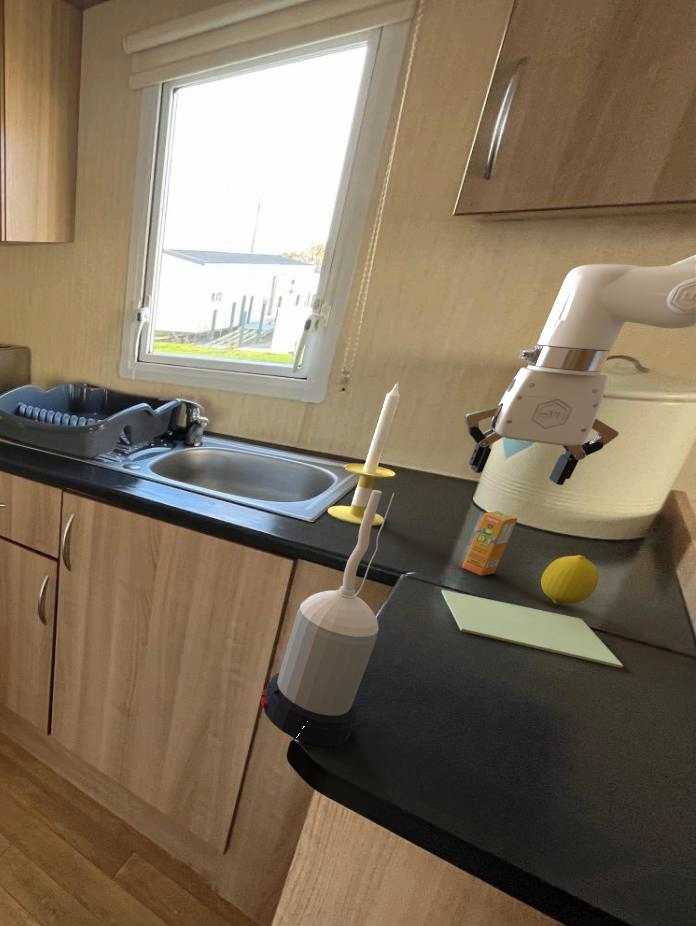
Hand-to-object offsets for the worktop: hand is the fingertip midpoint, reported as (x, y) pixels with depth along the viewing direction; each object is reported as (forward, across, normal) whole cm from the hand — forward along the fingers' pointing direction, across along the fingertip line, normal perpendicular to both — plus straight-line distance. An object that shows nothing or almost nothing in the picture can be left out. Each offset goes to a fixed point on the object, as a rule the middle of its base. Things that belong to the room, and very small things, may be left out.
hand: (514, 476), depth 84 cm
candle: (+17, -15, +18) cm, 29 cm away
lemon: (+16, +8, -8) cm, 20 cm away
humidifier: (+17, -25, -53) cm, 61 cm away
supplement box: (+16, +1, 0) cm, 17 cm away
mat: (+16, +2, -18) cm, 24 cm away
